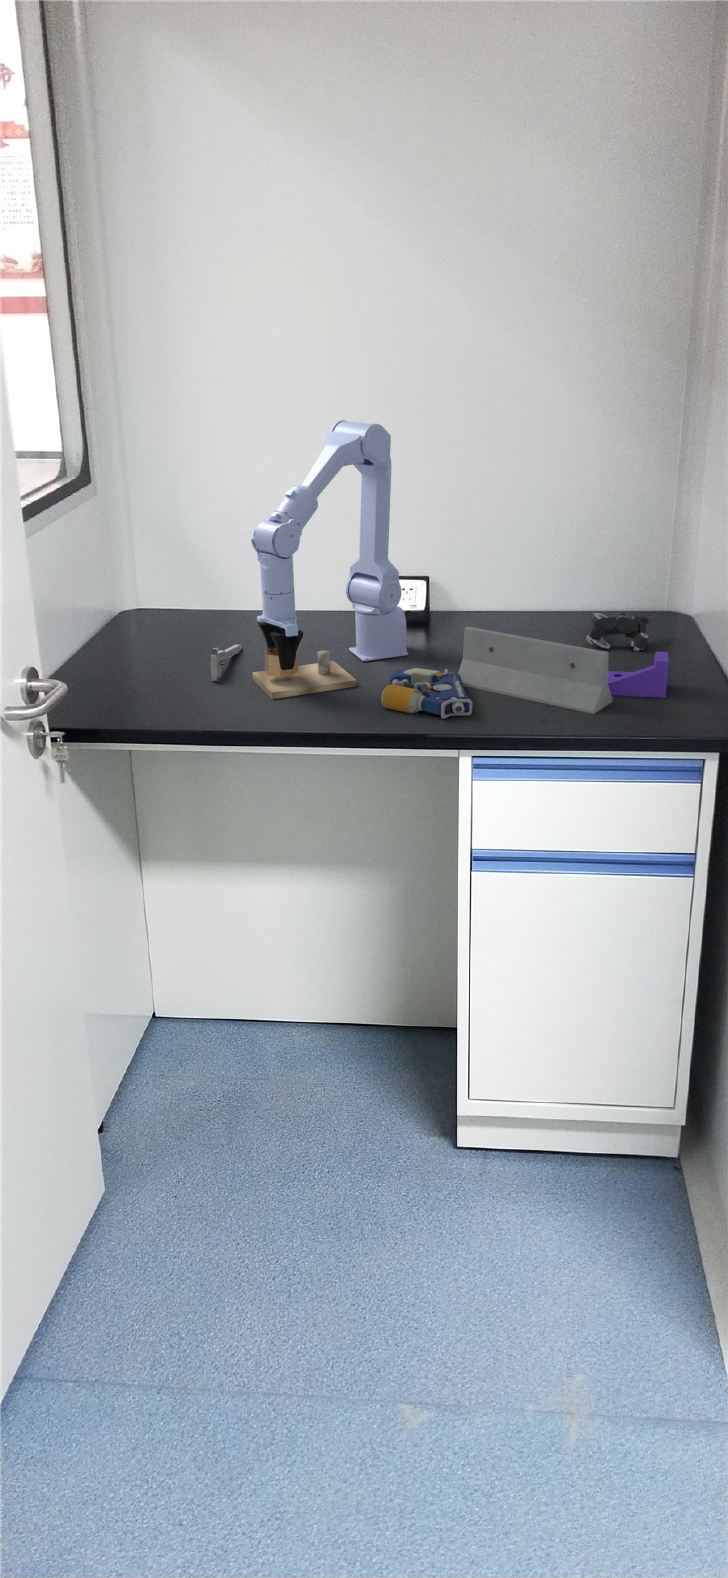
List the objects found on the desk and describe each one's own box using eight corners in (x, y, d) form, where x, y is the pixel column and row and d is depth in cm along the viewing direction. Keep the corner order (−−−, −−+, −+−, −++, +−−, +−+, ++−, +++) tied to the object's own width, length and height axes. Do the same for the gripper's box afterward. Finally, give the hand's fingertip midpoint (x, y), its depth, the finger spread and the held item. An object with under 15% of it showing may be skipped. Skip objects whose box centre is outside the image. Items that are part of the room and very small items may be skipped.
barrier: (612, 702, 203) (616, 647, 199) (594, 715, 198) (597, 658, 194) (475, 674, 219) (476, 622, 214) (454, 685, 213) (455, 631, 209)
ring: (291, 665, 216) (290, 644, 215) (301, 674, 212) (300, 653, 210) (262, 669, 215) (261, 648, 213) (271, 678, 210) (270, 657, 208)
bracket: (663, 686, 211) (667, 649, 208) (665, 699, 205) (668, 661, 202) (595, 683, 213) (598, 646, 210) (595, 696, 207) (597, 658, 204)
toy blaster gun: (383, 724, 196) (473, 722, 197) (383, 700, 195) (473, 698, 195) (377, 685, 215) (458, 684, 216) (377, 663, 214) (459, 661, 214)
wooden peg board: (333, 666, 223) (332, 640, 221) (356, 686, 213) (355, 658, 211) (252, 678, 218) (250, 651, 216) (272, 699, 208) (270, 671, 206)
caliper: (217, 683, 217) (215, 651, 214) (211, 683, 217) (209, 650, 214) (242, 649, 235) (240, 618, 233) (236, 649, 235) (235, 618, 233)
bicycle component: (591, 617, 242) (577, 641, 229) (607, 587, 238) (593, 609, 226) (644, 643, 240) (633, 668, 228) (661, 613, 236) (650, 637, 224)
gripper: (244, 583, 212) (249, 655, 217) (268, 603, 199) (272, 679, 205) (282, 578, 214) (285, 650, 220) (307, 598, 202) (311, 673, 207)
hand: (282, 664), depth 212 cm, fingers closed on ring, 6 cm apart
